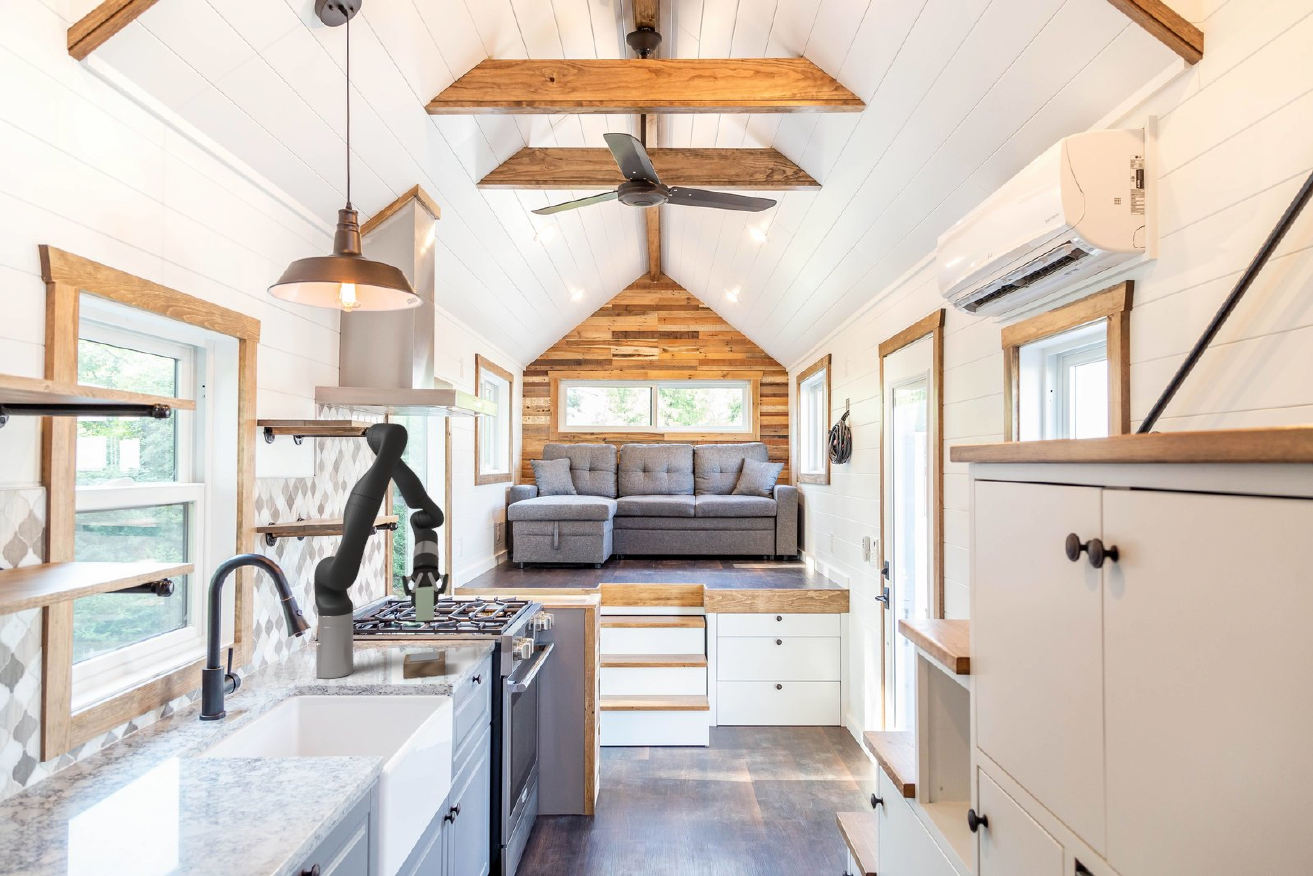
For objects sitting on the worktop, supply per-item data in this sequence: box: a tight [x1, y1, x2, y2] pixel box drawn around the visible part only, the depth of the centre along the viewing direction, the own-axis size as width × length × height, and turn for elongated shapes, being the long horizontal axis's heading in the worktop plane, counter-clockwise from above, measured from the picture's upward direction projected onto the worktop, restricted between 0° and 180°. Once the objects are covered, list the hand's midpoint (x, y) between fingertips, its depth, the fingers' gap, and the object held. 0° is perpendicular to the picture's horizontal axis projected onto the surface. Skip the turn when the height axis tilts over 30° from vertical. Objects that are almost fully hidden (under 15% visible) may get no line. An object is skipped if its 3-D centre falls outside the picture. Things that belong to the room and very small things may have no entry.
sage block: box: [415, 587, 435, 622], centre depth 212 cm, size 5×5×9 cm
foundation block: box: [402, 650, 446, 679], centre depth 204 cm, size 11×11×4 cm
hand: (424, 605), depth 210 cm, fingers closed on sage block, 5 cm apart
